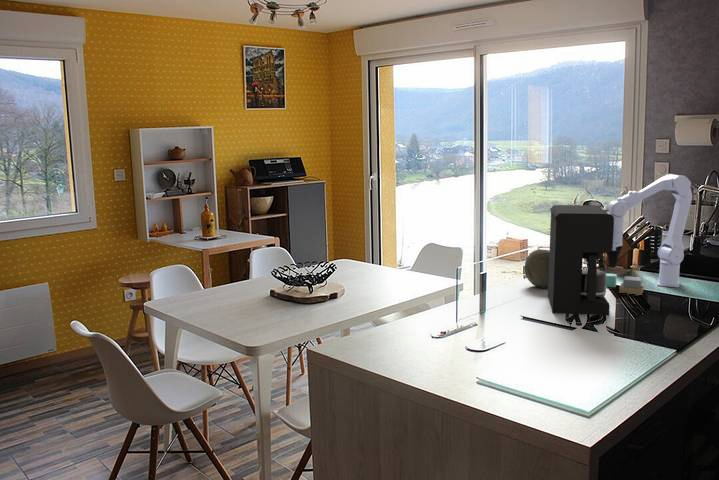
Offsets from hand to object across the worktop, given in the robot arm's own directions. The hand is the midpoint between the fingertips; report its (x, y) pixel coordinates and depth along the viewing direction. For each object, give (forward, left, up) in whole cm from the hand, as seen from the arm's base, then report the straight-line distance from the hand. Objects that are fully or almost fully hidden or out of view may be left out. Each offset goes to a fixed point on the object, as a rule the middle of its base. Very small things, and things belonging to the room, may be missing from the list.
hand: (613, 265), depth 270 cm
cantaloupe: (+12, -25, -9) cm, 29 cm away
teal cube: (-1, -1, -9) cm, 9 cm away
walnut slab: (+7, +8, -9) cm, 14 cm away
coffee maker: (+37, -7, -9) cm, 39 cm away
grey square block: (+7, +8, -6) cm, 12 cm away
